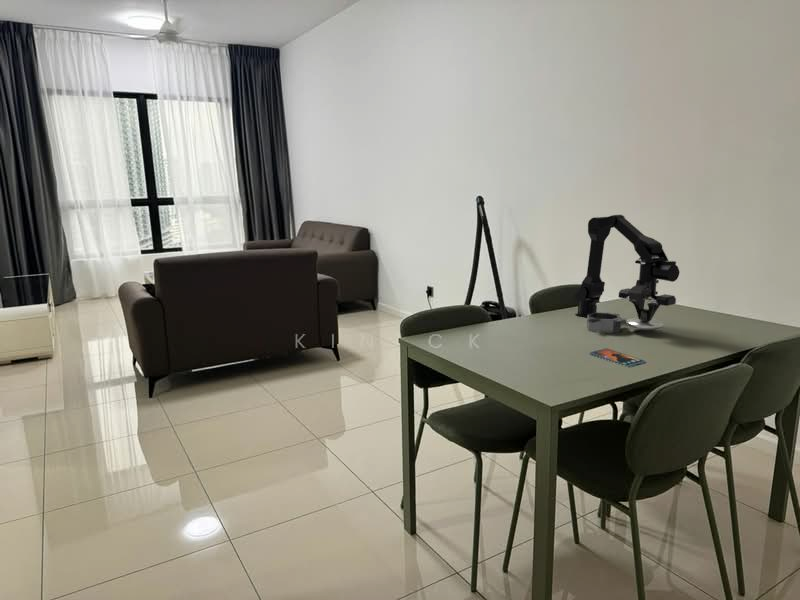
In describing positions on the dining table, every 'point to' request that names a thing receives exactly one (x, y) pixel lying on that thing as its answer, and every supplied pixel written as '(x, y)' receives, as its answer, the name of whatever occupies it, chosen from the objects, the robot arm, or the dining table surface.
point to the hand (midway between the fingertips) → (644, 320)
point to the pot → (604, 322)
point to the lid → (644, 322)
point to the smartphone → (617, 357)
